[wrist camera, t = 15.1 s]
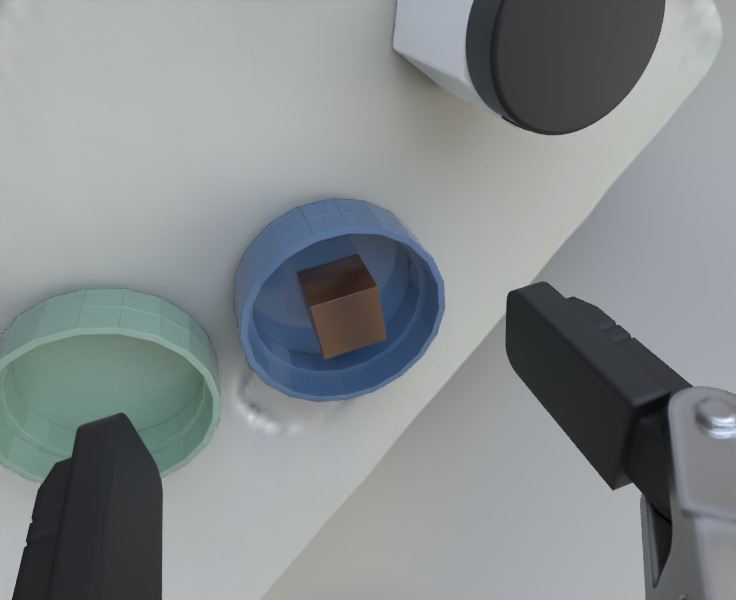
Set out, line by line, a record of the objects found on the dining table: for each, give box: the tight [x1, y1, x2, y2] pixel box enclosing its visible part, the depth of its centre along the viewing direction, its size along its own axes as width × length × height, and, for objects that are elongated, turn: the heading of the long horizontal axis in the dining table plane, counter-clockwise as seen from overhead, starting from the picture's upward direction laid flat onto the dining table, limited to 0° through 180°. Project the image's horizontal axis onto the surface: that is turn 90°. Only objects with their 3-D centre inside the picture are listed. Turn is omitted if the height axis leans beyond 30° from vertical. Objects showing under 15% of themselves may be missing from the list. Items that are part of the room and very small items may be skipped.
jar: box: [393, 0, 665, 135], centre depth 26 cm, size 9×8×12 cm
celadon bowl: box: [0, 289, 221, 484], centre depth 35 cm, size 14×14×5 cm
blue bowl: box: [234, 199, 445, 402], centre depth 37 cm, size 14×14×5 cm
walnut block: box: [297, 254, 387, 359], centre depth 37 cm, size 5×5×5 cm
